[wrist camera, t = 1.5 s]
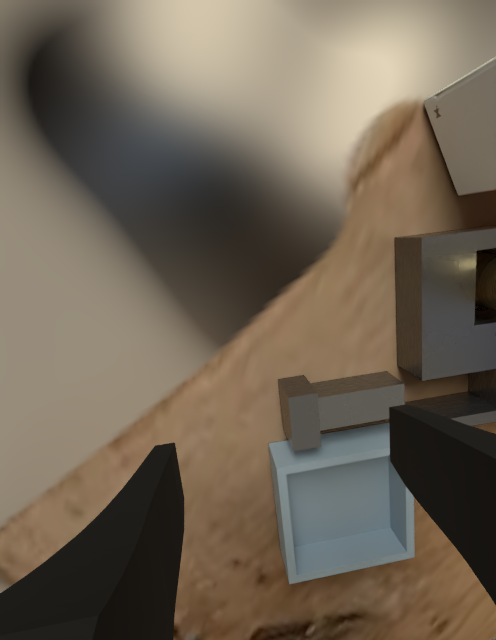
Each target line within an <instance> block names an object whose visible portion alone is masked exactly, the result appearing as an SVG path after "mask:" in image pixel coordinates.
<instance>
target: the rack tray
mask: <svg viewBox="0 0 496 640" xmlns="http://www.w3.org/2000/svg"><path fill="white" fill-rule="evenodd" d="M321 445H322V447H316V448H311V449H305V450H300V451H294V452H293V450H292V448H291V445H290V443H289V441H288V440H286V441H280V442H274V443H269V453H270V462H271V471H272V480H273V488H274V497H275V506H276V515H277V524H278V532H279V541H280V550H281V554H282V558H283V562H284V566H285V569H286V573H287V577H288V581H289V584H293V583H298V582H302V581H307V580H312V579H316V578H321V577H326V576H330V575H335V574H340V573H344V572H349V571H354V570H358V569H363V568H367V567H372V566H377V565H381V564H386V563H391V562H395V561H400V560H405V559H409V558H414V496H413V495H412V494H411V492H410V491H409V490H408V488H407V487H406V486H405V484H404V483H403V481H402V480H401V478H400V476H399V475H398V473H397V471H396V470H395V468H394V466H393V465H392V463H391V461H390V430H389V422H388V423H382V424H377V425H371V426H365V427H360V428H354V429H348V430H343V431H337V432H331V433H326V434H321Z"/></svg>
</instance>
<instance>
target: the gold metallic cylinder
mask: <svg viewBox="0 0 496 640" xmlns="http://www.w3.org/2000/svg"><path fill="white" fill-rule="evenodd" d="M475 305H477V306H481V307H485V308H489V309H494V310H496V254H480V253H477V256H476V289H475Z"/></svg>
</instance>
